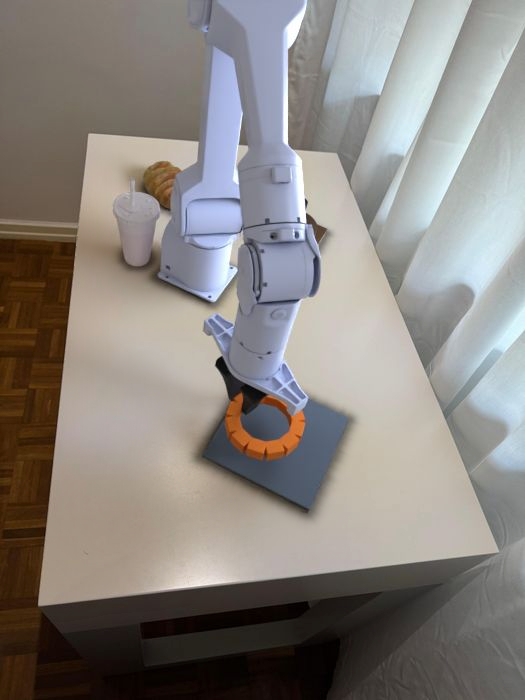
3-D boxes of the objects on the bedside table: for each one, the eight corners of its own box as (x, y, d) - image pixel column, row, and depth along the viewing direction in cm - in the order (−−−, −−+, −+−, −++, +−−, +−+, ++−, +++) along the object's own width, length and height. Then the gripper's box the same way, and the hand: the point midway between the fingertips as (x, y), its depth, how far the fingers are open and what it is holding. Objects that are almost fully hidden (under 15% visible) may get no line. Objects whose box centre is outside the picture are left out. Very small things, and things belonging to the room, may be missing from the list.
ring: (209, 421, 68) (210, 414, 67) (264, 381, 73) (265, 374, 71) (263, 475, 64) (265, 468, 63) (317, 429, 69) (320, 422, 68)
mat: (202, 456, 68) (202, 455, 68) (252, 373, 77) (252, 371, 76) (308, 511, 66) (309, 509, 66) (348, 419, 75) (349, 417, 74)
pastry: (200, 207, 95) (201, 189, 92) (162, 217, 92) (163, 198, 89) (175, 174, 99) (175, 155, 96) (138, 182, 96) (138, 163, 93)
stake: (255, 242, 92) (263, 205, 86) (278, 212, 98) (286, 175, 92) (306, 264, 91) (317, 228, 85) (326, 233, 96) (338, 197, 91)
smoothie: (116, 241, 87) (112, 162, 76) (159, 244, 88) (161, 166, 77) (113, 271, 83) (109, 193, 72) (158, 274, 85) (160, 197, 74)
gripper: (338, 358, 58) (308, 425, 69) (241, 273, 63) (227, 348, 74) (291, 395, 55) (267, 459, 65) (192, 302, 59) (184, 376, 70)
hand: (243, 402), depth 69 cm, fingers closed on ring, 2 cm apart
